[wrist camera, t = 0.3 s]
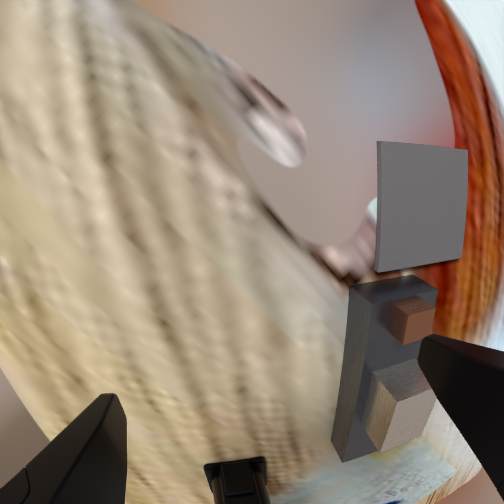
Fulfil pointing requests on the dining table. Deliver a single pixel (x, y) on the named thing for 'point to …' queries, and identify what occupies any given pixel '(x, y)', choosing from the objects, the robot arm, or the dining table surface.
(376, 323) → the body
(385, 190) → the mat
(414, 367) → the grey beige block
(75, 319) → the dining table surface
